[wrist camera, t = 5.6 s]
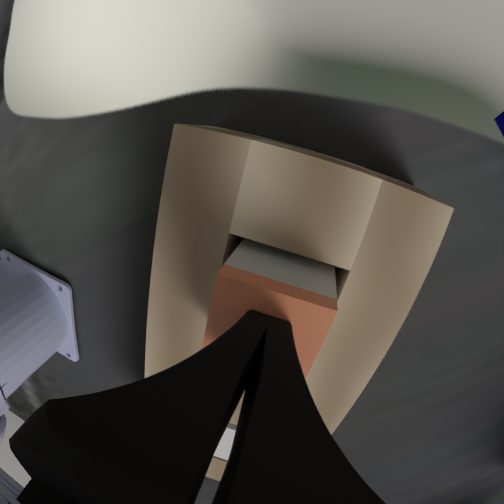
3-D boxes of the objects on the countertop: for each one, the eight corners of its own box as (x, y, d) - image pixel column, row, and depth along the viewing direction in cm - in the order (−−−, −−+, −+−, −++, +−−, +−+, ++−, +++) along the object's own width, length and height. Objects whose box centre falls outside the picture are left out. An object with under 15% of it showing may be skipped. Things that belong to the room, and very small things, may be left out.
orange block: (234, 298, 15) (198, 361, 10) (252, 227, 13) (217, 272, 9) (307, 321, 14) (297, 394, 10) (333, 252, 13) (337, 311, 9)
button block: (170, 407, 23) (145, 452, 18) (218, 126, 15) (174, 123, 10) (288, 446, 22) (278, 496, 17) (414, 186, 14) (453, 208, 9)
